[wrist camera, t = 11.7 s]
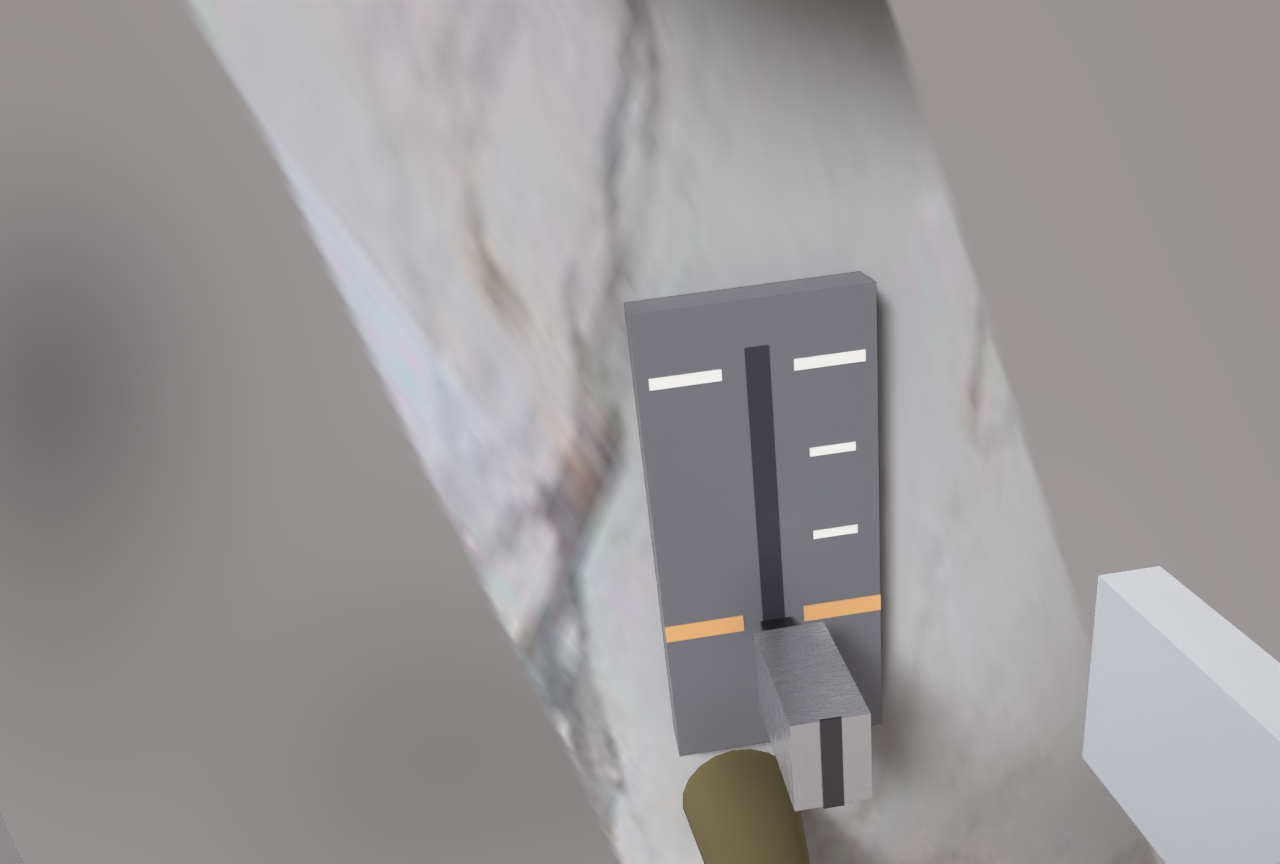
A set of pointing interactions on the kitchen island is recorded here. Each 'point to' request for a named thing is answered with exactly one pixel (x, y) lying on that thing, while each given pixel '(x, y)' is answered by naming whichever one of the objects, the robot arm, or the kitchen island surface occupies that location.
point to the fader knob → (813, 715)
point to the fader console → (759, 485)
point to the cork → (744, 811)
